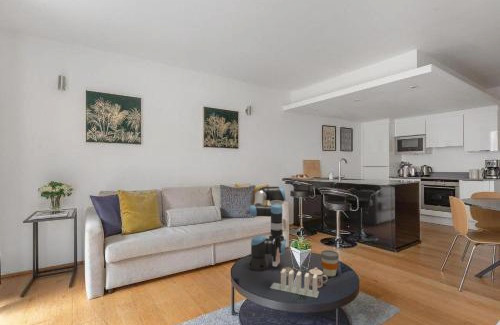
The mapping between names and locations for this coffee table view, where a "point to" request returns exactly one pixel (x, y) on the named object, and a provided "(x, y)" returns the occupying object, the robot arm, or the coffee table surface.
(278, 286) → the strip
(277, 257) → the domino
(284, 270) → the domino
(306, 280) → the domino
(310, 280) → the teacup with lid
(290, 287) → the domino
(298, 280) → the domino
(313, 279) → the domino
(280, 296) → the coffee table surface
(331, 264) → the reusable coffee cup
